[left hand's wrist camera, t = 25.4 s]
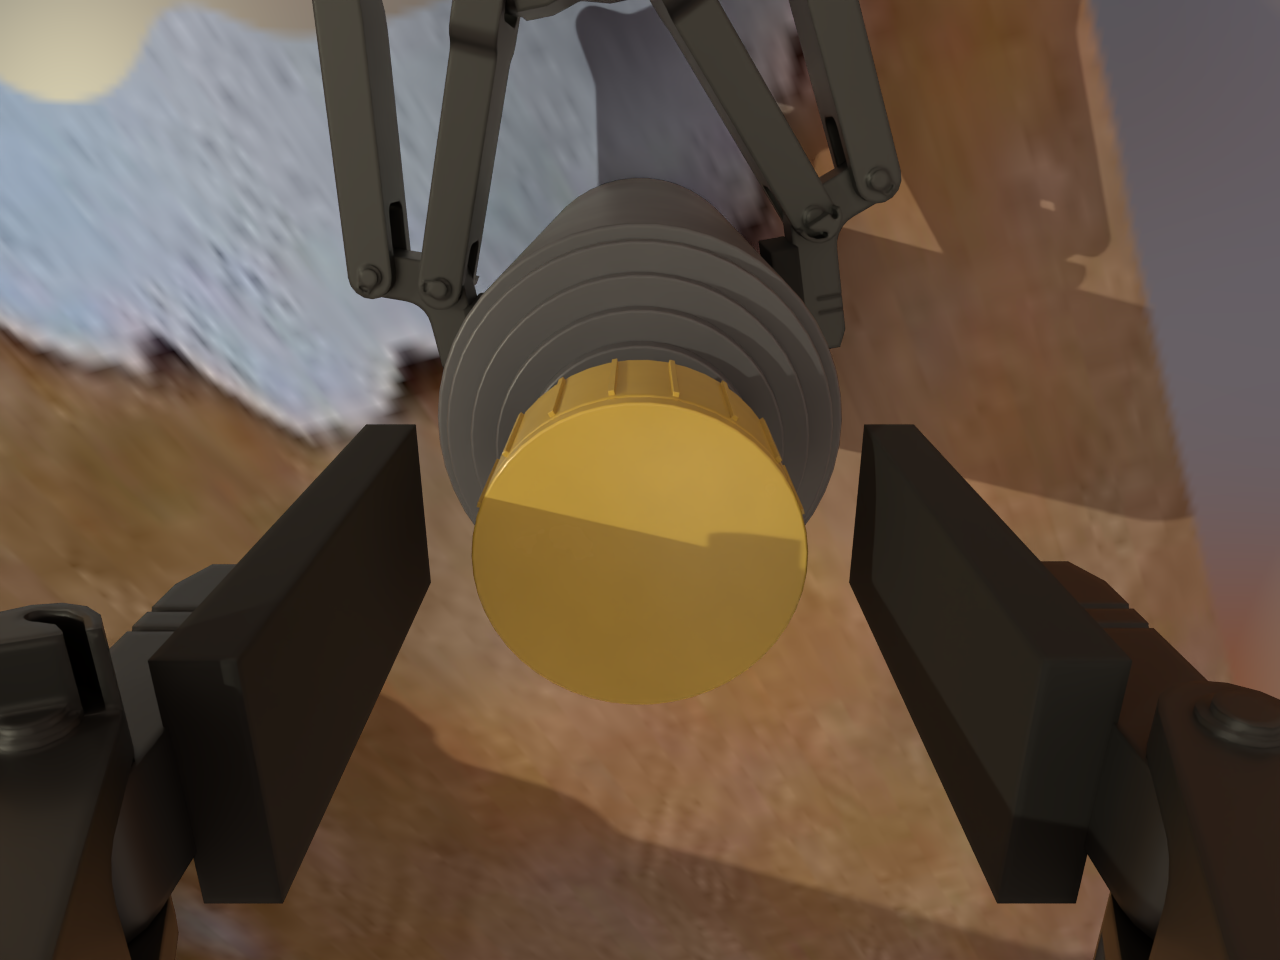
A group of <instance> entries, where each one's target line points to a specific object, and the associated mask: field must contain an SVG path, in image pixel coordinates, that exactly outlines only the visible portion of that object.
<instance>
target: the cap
mask: <svg viewBox="0 0 1280 960" xmlns="http://www.w3.org/2000/svg"><path fill="white" fill-rule="evenodd" d="M781 461H782V458H781V456H780V454H779V451H778V449H777V447H776V445H775V442H774V440H773V438H772V435H771V433H770V431H769V428H768V426H767V424H766V421H765V420H764V418H761V419H759V418H758V417H757V416H756V414H755V413H754V412H753V410H752V409H751V408H750V407H749V406H748V405H747V404H746V403H745V402H744V401H743V400H742V399H741V398H740V397H739V396H738V395H737V394H735V393H734V392H733V391H731V390H730V389H729V388H728V385H727V383H726V382H725V381H722V382H721V383H720V382H718V381H716V380H715V379H713V378H711V377H709V376H707V375H706V374H703V373H701V372H698V371H696V370H693V369H691V368H688V367H685V366H681V365H677V364H675V361H674V360H669V362H661V361H653V360H626V361H619V362H618V360H617V359H612V363H607V364H603V365H599V366H596V367H592V368H589V369H586V370H584V371H582V372H579V373H577V374H574V375H572V376H570V377H568V378H567V379H564V377H562V378H560V379H559V380H558V383H557V385H555V386H554V387H552V388H551V389H550V390H548V391H547V392H546V393H545V394H543V395H542V396H541V397H540V398H539V399H538V400H537V401H536V402H535V403H534V404H533V405H532V406H531V407H530V408H529V409H528V410H527V411H526V412H525V414H523V413H522V412H521V413H520V414H519V415H518V417H517V420H516V422H515V424H514V427H513V429H512V431H511V434H510V436H509V438H508V441H507V443H506V445H505V448H504V450H503V453H502V455H501V457H500V459H496V462H495V464H494V466H493V468H492V471H491V473H490V475H489V478H488V480H487V482H486V485H485V487H484V489H483V491H482V494H481V496H480V498H479V501H478V503H477V507H479V511H478V514H477V517H476V522H475V527H474V532H473V540H472V565H473V575H474V580H475V584H476V588H477V592H478V595H479V598H480V601H481V603H482V606H483V608H484V611H485V613H486V615H487V617H488V618H489V620H490V622H491V624H492V626H493V627H494V629H495V631H496V632H497V633H498V635H499V636H500V637H501V639H502V640H503V641H504V643H505V644H506V645H507V647H508V648H509V649H510V650H511V651H512V652H513V653H514V654H515V655H516V656H517V657H518V658H519V659H520V660H521V661H522V662H524V663H525V664H526V665H527V666H529V667H530V668H531V669H532V670H534V671H535V672H536V673H538V674H539V675H541V676H543V677H544V678H546V679H547V680H549V681H551V682H552V683H554V684H556V685H558V686H560V687H563V688H565V689H567V690H569V691H571V692H574V693H577V694H580V695H583V696H586V697H589V698H592V699H597V700H602V701H606V702H611V703H621V704H631V705H641V704H659V703H668V702H674V701H678V700H683V699H687V698H691V697H694V696H697V695H700V694H703V693H705V692H708V691H711V690H713V689H715V688H717V687H719V686H721V685H723V684H725V683H727V682H729V681H731V680H732V679H734V678H736V677H737V676H739V675H740V674H742V673H743V672H745V671H746V670H748V669H749V668H750V667H751V666H752V665H753V664H755V663H756V662H757V661H758V660H759V659H761V658H762V657H763V656H764V655H765V654H766V652H767V651H768V650H769V649H770V648H771V647H772V646H773V645H774V644H775V643H776V641H777V640H778V638H779V637H780V636H781V634H782V633H783V631H784V630H785V629H786V627H787V625H788V623H789V622H790V620H791V618H792V616H793V614H794V612H795V610H796V608H797V605H798V602H799V600H800V597H801V594H802V591H803V587H804V582H805V578H806V573H807V560H808V545H807V533H806V528H805V524H804V520H803V515H802V514H805V513H804V509H803V506H802V504H801V502H800V499H799V497H798V495H797V493H796V490H795V488H794V486H793V483H792V481H791V479H790V476H789V474H788V472H787V469H786V467H785V465H782V463H781Z"/></svg>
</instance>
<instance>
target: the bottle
mask: <svg viewBox="0 0 1280 960" xmlns="http://www.w3.org/2000/svg"><path fill="white" fill-rule="evenodd" d="M612 359H617V360H618V362H619V361H626V360H653V361H661V362H669V360H674V361H675V364H677V365H681V366H685V367H688V368H691V369H693V370H696V371H698V372H701V373H703V374H706V375H707V376H709V377H711V378H713V379H715V380H716V381H718V382H720V383H721V382H722V381H725V382H726V383H727V385H728V388H729V389H730V390H731V391H733V392H734V393H735V394H737V395H738V396H739V397H740V398H741V399H742V400H743V401H744V402H745V403H746V404H747V405H748V406H749V407H750V408H751V409H752V410H753V412H754V413H755V414H756V416H757V417H758V418H759V419H761V418H764V420H765V421H766V424H767V426H768V428H769V431H770V433H771V435H772V438H773V440H774V442H775V445H776V447H777V449H778V451H779V454H780V456H781V458H782V461H781V463H782V465H785V467H786V469H787V472H788V474H789V476H790V479H791V481H792V483H793V486H794V488H795V490H796V493H797V495H798V497H799V499H800V502H801V504H802V506H803V509H804V513H805V514H802V515H803V520H804V524H805V525H806V523H807V522H808V520H809V519H810V518H811V516H812V515H813V513H814V512H815V510H816V508H817V506H818V504H819V502H820V500H821V499H822V497H823V495H824V493H825V491H826V488H827V485H828V483H829V480H830V477H831V475H832V472H833V470H834V466H835V461H836V457H837V453H838V449H839V443H840V433H841V422H842V415H841V394H840V388H839V383H838V377H837V372H836V368H835V365H834V362H833V359H832V356H831V353H830V350H829V347H828V344H827V342H826V340H825V338H824V336H823V334H822V332H821V330H820V328H819V326H818V324H817V322H816V320H815V319H814V317H813V316H812V314H811V313H810V311H809V310H808V308H807V307H806V306H805V304H804V303H803V301H802V300H801V298H800V297H799V296H798V295H797V294H796V293H795V292H794V291H793V290H792V289H791V287H790V286H789V285H788V284H787V283H786V282H785V281H784V280H783V279H782V278H781V277H780V276H779V274H778V273H777V272H776V271H775V270H774V269H773V268H772V267H771V266H770V265H769V264H768V263H767V262H766V261H765V260H764V259H763V258H762V257H761V256H760V255H759V253H758V252H757V251H756V250H755V249H754V248H753V247H752V246H751V245H750V244H749V243H748V242H747V241H746V240H745V239H744V238H743V237H742V236H741V235H740V234H739V232H738V231H737V230H736V229H735V228H734V227H733V226H732V225H731V224H730V223H729V222H728V221H727V220H726V219H725V218H724V217H723V216H722V215H721V214H720V213H719V211H718V210H717V209H716V208H715V207H713V206H712V205H711V204H710V203H709V202H707V201H706V200H705V199H704V198H702V197H701V196H699V195H697V194H696V193H694V192H693V191H691V190H689V189H686V188H684V187H682V186H680V185H677V184H674V183H671V182H667V181H664V180H657V179H651V178H630V179H622V180H617V181H613V182H609V183H606V184H603V185H600V186H598V187H596V188H593V189H591V190H589V191H588V192H586V193H584V194H583V195H581V196H579V197H578V198H576V199H575V200H574V201H573V202H571V203H570V204H569V205H568V206H566V207H565V208H564V209H563V210H562V211H561V213H560V214H559V215H558V216H557V217H556V218H555V219H554V220H553V221H552V222H551V223H550V224H549V225H548V226H547V227H546V228H545V229H544V230H543V231H542V233H541V234H540V235H539V236H538V237H537V238H536V239H535V240H534V241H533V242H532V243H531V244H530V245H529V246H528V247H527V248H526V249H525V250H524V251H523V252H522V254H521V255H520V256H519V257H518V258H517V259H516V260H515V261H514V262H513V263H512V264H511V265H510V266H509V267H508V268H507V269H506V270H505V271H504V272H503V273H502V275H501V276H500V277H499V278H498V279H497V280H496V281H495V282H494V283H493V284H492V285H491V286H490V287H489V288H488V289H487V290H486V291H485V292H484V294H483V295H482V296H481V297H480V298H479V300H478V301H477V303H476V304H475V305H474V307H473V308H472V310H471V311H470V312H469V314H468V315H467V317H466V318H465V320H464V322H463V324H462V326H461V328H460V330H459V331H458V333H457V335H456V337H455V339H454V341H453V344H452V347H451V349H450V352H449V355H448V358H447V361H446V364H445V367H444V372H443V377H442V381H441V386H440V392H439V408H438V423H439V436H440V444H441V449H442V454H443V458H444V463H445V467H446V470H447V473H448V475H449V478H450V481H451V484H452V486H453V489H454V491H455V493H456V495H457V497H458V499H459V501H460V503H461V505H462V507H463V509H464V510H465V512H466V514H467V515H468V516H469V518H470V519H471V521H472V522H473V524H474V525H475V522H476V517H477V514H478V511H479V507H477V503H478V501H479V498H480V496H481V494H482V491H483V489H484V487H485V485H486V482H487V480H488V478H489V475H490V473H491V471H492V468H493V466H494V464H495V462H496V459H500V457H501V455H502V453H503V450H504V448H505V445H506V443H507V441H508V438H509V436H510V434H511V431H512V429H513V427H514V424H515V422H516V420H517V417H518V415H519V414H520V413H521V412H522V413H523V414H525V412H526V411H527V410H528V409H529V408H530V407H531V406H532V405H533V404H534V403H535V402H536V401H537V400H538V399H539V398H540V397H541V396H542V395H543V394H545V393H546V392H547V391H548V390H550V389H551V388H552V387H554V386H555V385H557V383H558V380H559V379H560V378H562V377H564V379H567V378H568V377H570V376H572V375H574V374H577V373H579V372H582V371H584V370H586V369H589V368H592V367H596V366H599V365H603V364H607V363H612Z"/></svg>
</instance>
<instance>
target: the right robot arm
mask: <svg viewBox="0 0 1280 960" xmlns="http://www.w3.org/2000/svg"><path fill="white" fill-rule="evenodd" d="M580 1H588V2H599V3H615V2H620V1H625V0H452V7H451V15H450V24H449V36H450V53H449V60H448V67H447V74H446V82H445V89H444V96H443V103H442V111H441V118H440V125H439V132H438V139H437V147H436V154H435V161H434V168H433V176H432V183H431V190H430V197H429V205H428V212H427V219H426V226H425V233H424V241H423V248H422V252H416V251H411V250H410V240H409V231H408V221H407V211H406V202H405V192H404V182H403V173H402V163H401V154H400V144H399V134H398V125H397V115H396V105H395V96H394V86H393V77H392V67H391V57H390V48H389V38H388V29H387V22H386V16H385V10H384V6H383V3H382V0H312V3H313V11H314V18H315V26H316V34H317V41H318V49H319V57H320V65H321V72H322V80H323V88H324V95H325V103H326V111H327V118H328V126H329V134H330V141H331V149H332V157H333V165H334V172H335V180H336V188H337V195H338V203H339V211H340V218H341V226H342V234H343V241H344V249H345V257H346V265H347V272H348V279H349V282H350V285H351V287H352V288H353V289H354V290H355V292H356V293H357V294H359V295H361V296H362V297H364V298H369V299H375V298H380V297H384V298H390V299H396V300H402V301H407V302H411V303H414V304H415V305H417V306H419V307H420V308H421V309H422V310H423V311H424V312H425V313H426V314H427V316H428V317H429V320H430V322H431V325H432V329H433V333H434V336H435V340H436V344H437V348H438V351H439V355H440V359H441V362H442V366H443V368H444V367H445V364H446V361H447V358H448V355H449V352H450V349H451V347H452V344H453V341H454V339H455V337H456V335H457V333H458V331H459V330H460V328H461V326H462V324H463V322H464V320H465V318H466V317H467V315H468V314H469V312H470V311H471V310H472V308H473V307H474V305H475V304H476V303H477V301H478V300H479V298H480V297H481V296H482V295H483V294H484V293H479V295H478V296H477V294H476V290H475V286H474V285H475V284H476V283H477V281H478V278H479V276H476V272H477V265H478V259H479V253H480V247H481V241H482V234H483V228H484V222H485V216H486V210H487V203H488V197H489V191H490V185H491V179H492V172H493V166H494V160H495V154H496V148H497V141H498V135H499V129H500V123H501V117H502V110H503V104H504V98H505V92H506V86H507V79H508V73H509V67H510V63H511V60H512V57H513V54H514V50H515V45H516V40H517V33H518V27H519V21H520V17H523V18H524V19H525V20H526V21H529V20H534V19H538V18H543V17H548V16H553V15H555V14H557V13H559V12H561V11H563V10H564V9H566V8H568V7H570V6H572V5H574V4H575V3H577V2H580ZM650 2H651V3H652V5H653V7H654V8H655V10H656V12H657V14H658V15H659V17H660V18H661V20H662V21H663V23H664V24H665V26H666V27H667V28H668V30H669V31H670V33H671V34H672V36H673V38H674V39H675V41H676V43H677V45H678V46H679V48H680V50H681V51H682V53H683V55H684V56H685V58H686V60H687V61H688V63H689V65H690V66H691V68H692V70H693V72H694V73H695V75H696V77H697V78H698V80H699V82H700V83H701V85H702V87H703V88H704V90H705V92H706V93H707V95H708V97H709V99H710V100H711V102H712V104H713V105H714V107H715V109H716V110H717V112H718V114H719V115H720V117H721V119H722V120H723V122H724V124H725V126H726V127H727V129H728V131H729V132H730V134H731V136H732V137H733V139H734V141H735V142H736V144H737V146H738V147H739V149H740V151H741V153H742V154H743V156H744V158H745V159H746V161H747V163H748V164H749V166H750V168H751V169H752V171H753V173H754V174H755V176H756V178H757V180H758V181H759V183H760V185H761V186H762V188H763V190H764V191H765V193H766V195H767V196H768V198H769V200H770V201H771V203H772V205H773V207H774V208H775V210H776V212H777V213H778V215H779V217H780V218H781V220H782V222H783V225H784V233H785V237H784V236H782V237H777V238H772V239H766V240H761V241H759V247H760V255H761V257H762V258H763V259H764V260H765V261H766V262H767V263H768V264H769V265H770V266H771V267H772V268H773V269H774V270H775V271H776V272H777V273H778V274H779V276H780V277H781V278H782V279H783V280H784V281H785V282H786V283H787V284H788V285H789V286H790V287H791V289H792V290H793V291H794V292H795V293H796V294H797V295H798V296H799V297H800V298H801V300H802V301H803V303H804V304H805V306H806V307H807V308H808V310H809V311H810V313H811V314H812V316H813V317H814V319H815V320H816V322H817V324H818V326H819V328H820V330H821V332H822V334H823V336H824V338H825V340H826V342H827V344H828V347H829V349H831V348H836V347H840V345H841V342H842V338H843V335H844V331H845V322H844V313H843V303H842V296H841V283H840V273H839V264H838V254H837V239H838V235H839V232H840V230H841V228H842V227H843V225H844V224H845V223H846V222H847V221H848V220H849V219H851V218H852V217H853V216H855V215H857V214H858V213H860V212H862V211H864V210H865V209H867V208H869V207H871V206H872V205H874V204H876V203H882V202H885V201H887V200H889V199H890V198H892V197H893V196H894V195H895V193H896V192H897V191H898V189H899V186H900V183H901V170H900V166H899V162H898V158H897V154H896V150H895V146H894V142H893V138H892V134H891V130H890V126H889V122H888V118H887V114H886V110H885V106H884V102H883V97H882V93H881V89H880V85H879V81H878V77H877V73H876V69H875V65H874V61H873V57H872V53H871V49H870V45H869V41H868V37H867V33H866V29H865V25H864V21H863V16H862V12H861V8H860V4H859V0H789V3H790V6H791V10H792V14H793V17H794V21H795V25H796V28H797V32H798V36H799V39H800V43H801V47H802V50H803V54H804V58H805V61H806V65H807V69H808V72H809V76H810V80H811V84H812V87H813V91H814V95H815V98H816V102H817V106H818V109H819V113H820V117H821V120H822V124H823V128H824V131H825V135H826V139H827V142H828V146H829V150H830V153H831V157H832V161H833V164H834V168H835V169H833V170H831V171H829V172H828V173H826V174H824V175H823V176H821V177H818V175H817V173H816V172H815V170H814V168H813V166H812V165H811V163H810V161H809V159H808V158H807V156H806V154H805V152H804V151H803V149H802V147H801V145H800V144H799V142H798V140H797V138H796V137H795V135H794V133H793V131H792V129H791V128H790V126H789V124H788V122H787V121H786V119H785V117H784V115H783V114H782V112H781V110H780V108H779V107H778V105H777V103H776V101H775V100H774V98H773V96H772V94H771V93H770V91H769V89H768V87H767V86H766V84H765V82H764V80H763V78H762V77H761V75H760V73H759V71H758V70H757V68H756V66H755V64H754V63H753V61H752V59H751V57H750V56H749V54H748V52H747V50H746V49H745V47H744V45H743V43H742V42H741V40H740V38H739V36H738V35H737V33H736V31H735V29H734V27H733V26H732V24H731V22H730V20H729V19H728V17H727V15H726V13H725V12H724V10H723V8H722V6H721V5H720V3H719V1H718V0H650Z"/></svg>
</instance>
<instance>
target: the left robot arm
mask: <svg viewBox="0 0 1280 960" xmlns="http://www.w3.org/2000/svg"><path fill="white" fill-rule="evenodd" d="M430 583H431V580H430V569H429V559H428V548H427V538H426V527H425V517H424V506H423V496H422V485H421V475H420V464H419V454H418V444H417V433H416V425H365V427H364V428H363V429H362V430H361V431H360V432H359V433H358V434H357V435H356V436H355V437H354V438H353V439H352V441H351V442H350V443H349V444H348V445H347V446H346V447H345V448H344V449H343V450H342V451H341V452H340V453H339V455H338V456H337V457H336V458H335V459H334V460H333V461H332V462H331V463H330V464H329V465H328V466H327V468H326V469H325V470H324V471H323V472H322V473H321V474H320V475H319V476H318V477H317V478H316V479H315V480H314V482H313V483H312V484H311V485H310V486H309V487H308V488H307V489H306V490H305V491H304V492H303V493H302V495H301V496H300V497H299V498H298V499H297V500H296V501H295V502H294V503H293V504H292V505H291V506H290V507H289V509H288V510H287V511H286V512H285V513H284V514H283V515H282V516H281V517H280V518H279V519H278V520H277V521H276V523H275V524H274V525H273V526H272V527H271V528H270V529H269V530H268V531H267V532H266V533H265V534H264V536H263V537H262V538H261V539H260V540H259V541H258V542H257V543H256V544H255V545H254V546H253V547H252V548H251V550H250V551H249V552H248V553H247V554H246V555H245V556H244V557H243V558H242V559H241V560H240V561H239V562H238V564H212V565H210V566H209V567H207V568H205V569H203V570H201V571H199V572H197V573H196V574H194V575H192V576H190V577H188V578H186V579H184V580H182V581H181V582H179V583H177V584H175V585H174V586H173V587H172V588H171V589H170V590H169V591H168V592H167V593H166V594H165V595H164V596H163V597H162V598H161V599H160V600H159V601H158V602H157V603H156V604H155V605H154V606H153V607H152V612H147V613H146V614H145V615H144V616H143V617H142V618H141V619H140V620H139V621H137V622H136V623H135V624H134V625H133V626H132V632H126V633H125V634H124V635H123V636H122V637H121V638H120V639H119V640H118V641H117V642H116V643H115V644H114V645H113V646H112V647H111V648H110V649H109V646H108V642H107V638H106V634H105V630H104V626H103V622H102V618H101V615H100V614H98V613H97V612H95V611H94V610H92V609H90V608H89V607H87V606H81V605H74V604H67V603H55V604H41V605H30V606H25V607H21V608H16V609H11V610H7V611H2V612H0V960H175V955H176V948H177V940H178V927H177V920H176V914H175V910H174V906H173V902H172V898H171V893H172V891H173V890H174V888H175V887H176V885H177V883H178V882H179V880H180V878H181V877H182V875H183V874H184V872H185V870H186V869H187V867H188V865H189V864H190V862H191V861H192V859H193V858H194V862H195V866H196V871H197V875H198V879H199V883H200V888H201V892H202V896H203V901H204V903H283V902H284V900H285V897H286V895H287V893H288V891H289V889H290V887H291V884H292V882H293V880H294V878H295V876H296V874H297V871H298V869H299V867H300V865H301V863H302V861H303V858H304V856H305V854H306V852H307V850H308V848H309V845H310V843H311V841H312V839H313V837H314V835H315V832H316V830H317V828H318V826H319V824H320V822H321V819H322V817H323V815H324V813H325V811H326V809H327V806H328V804H329V802H330V800H331V798H332V796H333V793H334V791H335V789H336V787H337V785H338V783H339V780H340V778H341V776H342V774H343V772H344V770H345V767H346V765H347V763H348V761H349V759H350V757H351V754H352V752H353V750H354V748H355V746H356V744H357V741H358V739H359V737H360V735H361V733H362V731H363V728H364V726H365V724H366V722H367V720H368V718H369V715H370V713H371V711H372V709H373V707H374V705H375V702H376V700H377V698H378V696H379V694H380V692H381V689H382V687H383V685H384V683H385V681H386V679H387V676H388V674H389V672H390V670H391V668H392V666H393V663H394V661H395V659H396V657H397V655H398V653H399V650H400V648H401V646H402V644H403V642H404V640H405V637H406V635H407V633H408V631H409V629H410V627H411V624H412V622H413V620H414V618H415V616H416V614H417V611H418V609H419V607H420V605H421V603H422V601H423V598H424V596H425V594H426V592H427V590H428V588H429V585H430ZM849 583H850V585H851V588H852V590H853V592H854V594H855V596H856V598H857V601H858V603H859V605H860V607H861V609H862V611H863V614H864V616H865V618H866V620H867V622H868V624H869V627H870V629H871V631H872V633H873V635H874V637H875V640H876V642H877V644H878V646H879V648H880V650H881V653H882V655H883V657H884V659H885V661H886V663H887V666H888V668H889V670H890V672H891V674H892V676H893V679H894V681H895V683H896V685H897V687H898V689H899V692H900V694H901V696H902V698H903V700H904V702H905V705H906V707H907V709H908V711H909V713H910V715H911V718H912V720H913V722H914V724H915V726H916V728H917V731H918V733H919V735H920V737H921V739H922V741H923V744H924V746H925V748H926V750H927V752H928V754H929V757H930V759H931V761H932V763H933V765H934V767H935V770H936V772H937V774H938V776H939V778H940V780H941V783H942V785H943V787H944V789H945V791H946V793H947V796H948V798H949V800H950V802H951V804H952V806H953V809H954V811H955V813H956V815H957V817H958V819H959V822H960V824H961V826H962V828H963V830H964V832H965V835H966V837H967V839H968V841H969V843H970V845H971V848H972V850H973V852H974V854H975V856H976V858H977V861H978V863H979V865H980V867H981V869H982V871H983V874H984V876H985V878H986V880H987V882H988V884H989V887H990V889H991V891H992V893H993V895H994V897H995V900H996V902H997V903H1076V901H1077V896H1078V892H1079V888H1080V883H1081V879H1082V875H1083V871H1084V866H1085V862H1086V858H1087V854H1088V856H1089V857H1090V859H1091V861H1092V862H1093V864H1094V866H1095V867H1096V869H1097V870H1098V872H1099V874H1100V875H1101V877H1102V879H1103V880H1104V882H1105V883H1106V885H1107V887H1108V888H1109V890H1110V894H1109V898H1108V902H1107V906H1106V910H1105V914H1104V918H1103V922H1102V926H1101V930H1100V934H1099V938H1098V942H1097V946H1096V950H1095V954H1094V958H1093V960H1280V700H1279V699H1277V698H1274V697H1272V696H1270V695H1268V694H1265V693H1263V692H1260V691H1257V690H1253V689H1249V688H1245V687H1241V686H1237V685H1233V684H1230V683H1223V682H1211V681H1207V680H1206V679H1205V678H1204V677H1203V676H1202V675H1201V674H1200V673H1199V672H1198V671H1197V670H1196V669H1195V668H1194V667H1193V666H1192V665H1191V664H1190V663H1189V662H1188V661H1187V660H1186V659H1185V658H1184V657H1183V656H1182V655H1181V654H1180V653H1179V652H1178V651H1177V650H1176V649H1174V648H1173V647H1172V646H1171V645H1170V644H1169V643H1168V642H1167V641H1166V640H1165V639H1164V638H1163V637H1162V636H1161V635H1160V634H1159V633H1158V632H1157V631H1156V630H1155V629H1154V628H1149V626H1148V622H1147V621H1146V620H1145V619H1144V618H1143V617H1142V616H1141V615H1139V614H1138V613H1137V612H1136V611H1135V610H1134V609H1129V604H1128V603H1127V602H1126V601H1125V600H1124V599H1123V598H1122V597H1121V596H1120V595H1119V594H1118V593H1117V592H1116V591H1115V590H1114V589H1113V588H1112V587H1111V586H1110V585H1109V584H1108V583H1107V582H1106V581H1104V580H1102V579H1100V578H1098V577H1096V576H1095V575H1093V574H1091V573H1089V572H1087V571H1085V570H1083V569H1081V568H1080V567H1078V566H1076V565H1074V564H1072V563H1070V562H1068V561H1040V560H1039V559H1038V558H1037V557H1036V556H1035V555H1034V554H1033V553H1032V552H1031V551H1030V550H1029V548H1028V547H1027V546H1026V545H1025V544H1024V543H1023V542H1022V541H1021V540H1020V539H1019V538H1018V537H1017V536H1016V534H1015V533H1014V532H1013V531H1012V530H1011V529H1010V528H1009V527H1008V526H1007V525H1006V524H1005V523H1004V521H1003V520H1002V519H1001V518H1000V517H999V516H998V515H997V514H996V513H995V512H994V511H993V510H992V509H991V507H990V506H989V505H988V504H987V503H986V502H985V501H984V500H983V499H982V498H981V497H980V496H979V495H978V493H977V492H976V491H975V490H974V489H973V488H972V487H971V486H970V485H969V484H968V483H967V482H966V480H965V479H964V478H963V477H962V476H961V475H960V474H959V473H958V472H957V471H956V470H955V469H954V468H953V466H952V465H951V464H950V463H949V462H948V461H947V460H946V459H945V458H944V457H943V456H942V455H941V453H940V452H939V451H938V450H937V449H936V448H935V447H934V446H933V445H932V444H931V443H930V442H929V441H928V439H927V438H926V437H925V436H924V435H923V434H922V433H921V432H920V431H919V430H918V429H917V428H916V427H915V425H864V433H863V444H862V454H861V464H860V475H859V485H858V496H857V506H856V517H855V527H854V538H853V548H852V559H851V569H850V580H849Z"/></svg>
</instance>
